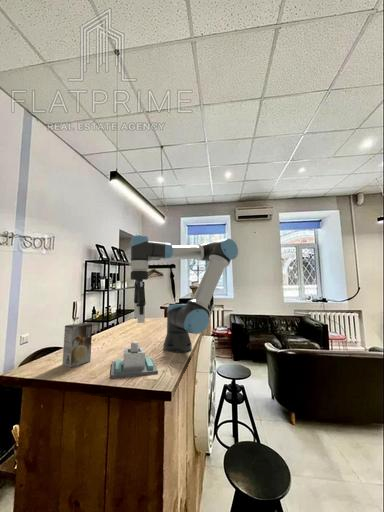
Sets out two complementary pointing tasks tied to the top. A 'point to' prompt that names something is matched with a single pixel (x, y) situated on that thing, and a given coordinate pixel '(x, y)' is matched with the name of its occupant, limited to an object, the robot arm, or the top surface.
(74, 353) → the coffee box
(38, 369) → the top surface
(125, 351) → the collar
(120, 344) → the top surface
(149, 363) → the board
